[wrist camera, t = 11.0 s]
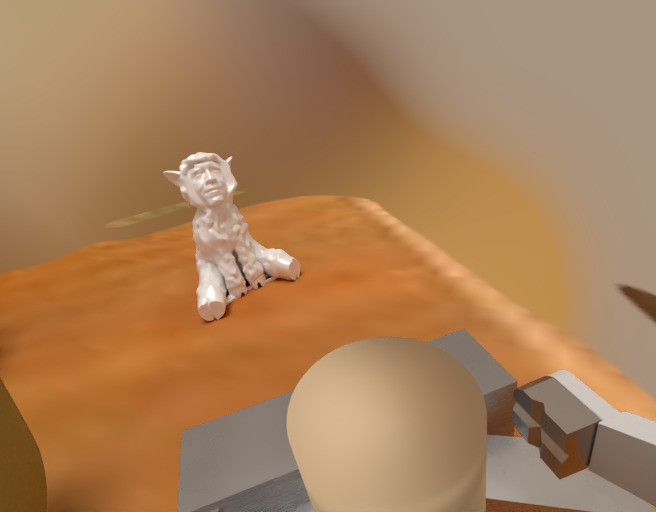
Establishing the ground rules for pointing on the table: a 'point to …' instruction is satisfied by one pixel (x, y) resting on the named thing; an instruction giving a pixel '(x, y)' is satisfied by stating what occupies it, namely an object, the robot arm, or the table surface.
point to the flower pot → (19, 462)
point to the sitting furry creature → (224, 237)
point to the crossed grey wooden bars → (288, 487)
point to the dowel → (390, 430)
